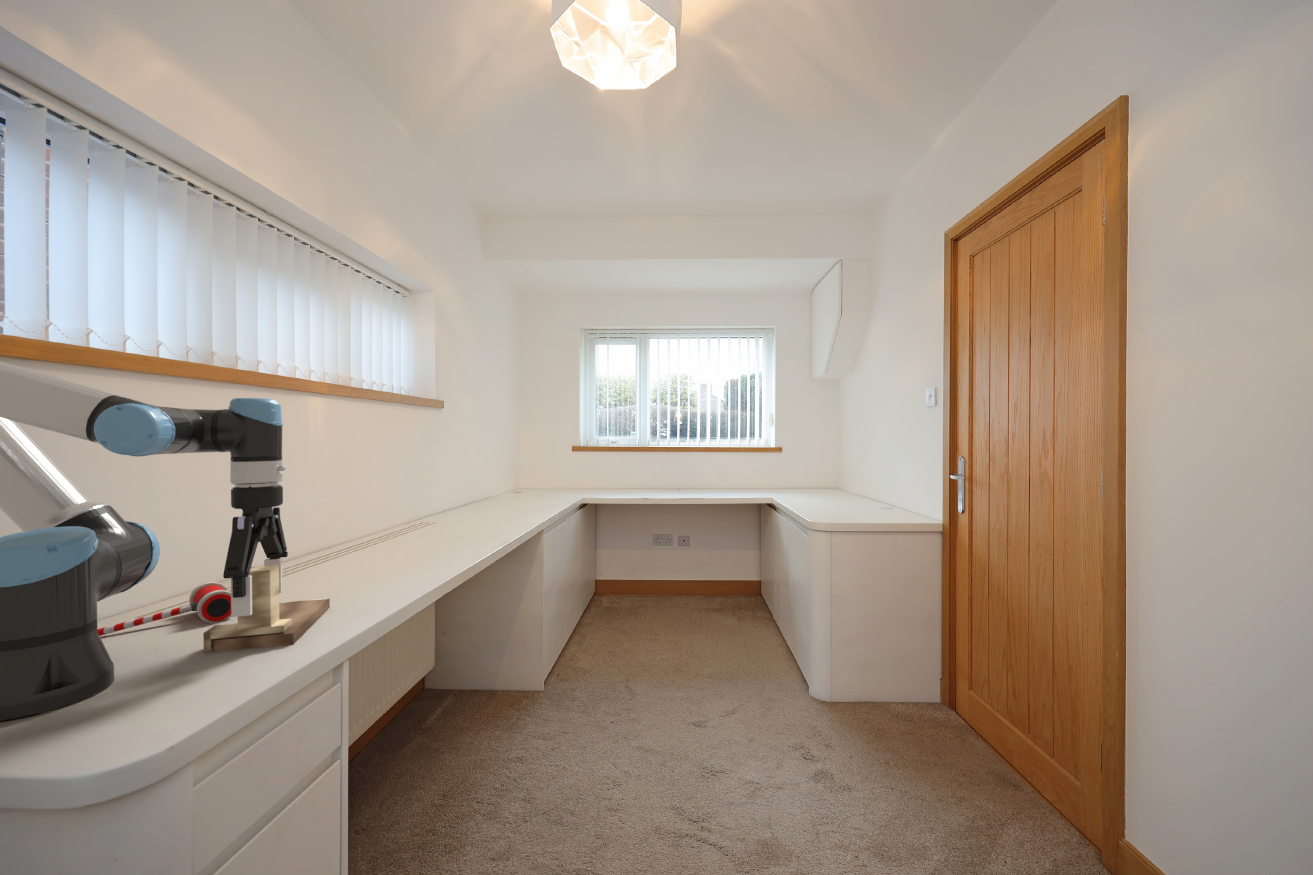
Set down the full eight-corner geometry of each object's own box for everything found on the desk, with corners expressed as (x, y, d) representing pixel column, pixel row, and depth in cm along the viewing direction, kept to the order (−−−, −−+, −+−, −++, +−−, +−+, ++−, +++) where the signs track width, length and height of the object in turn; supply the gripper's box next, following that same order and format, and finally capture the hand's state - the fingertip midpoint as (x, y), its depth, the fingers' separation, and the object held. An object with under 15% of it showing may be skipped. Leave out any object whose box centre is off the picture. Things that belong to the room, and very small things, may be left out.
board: (214, 652, 95) (213, 639, 95) (265, 612, 116) (265, 603, 116) (293, 644, 98) (293, 632, 98) (329, 607, 119) (329, 597, 119)
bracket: (203, 650, 94) (202, 574, 94) (215, 642, 98) (214, 569, 98) (284, 642, 98) (283, 569, 98) (292, 635, 102) (291, 564, 102)
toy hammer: (77, 652, 96) (77, 616, 96) (76, 636, 104) (75, 602, 104) (238, 619, 113) (238, 588, 113) (226, 607, 121) (226, 578, 121)
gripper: (252, 490, 87) (253, 624, 87) (304, 479, 111) (305, 583, 111) (195, 492, 85) (197, 629, 85) (261, 480, 109) (262, 587, 109)
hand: (258, 603), depth 98 cm, fingers open, 13 cm apart
